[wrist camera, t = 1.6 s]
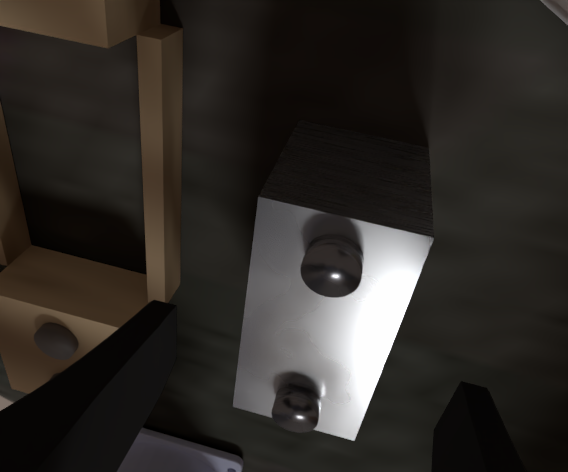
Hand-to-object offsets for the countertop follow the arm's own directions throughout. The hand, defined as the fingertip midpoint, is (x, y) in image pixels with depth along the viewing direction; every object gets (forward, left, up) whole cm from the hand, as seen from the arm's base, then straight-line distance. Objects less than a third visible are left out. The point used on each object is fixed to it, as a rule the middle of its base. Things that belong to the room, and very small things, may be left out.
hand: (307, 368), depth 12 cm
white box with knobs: (0, 0, -6) cm, 6 cm away
